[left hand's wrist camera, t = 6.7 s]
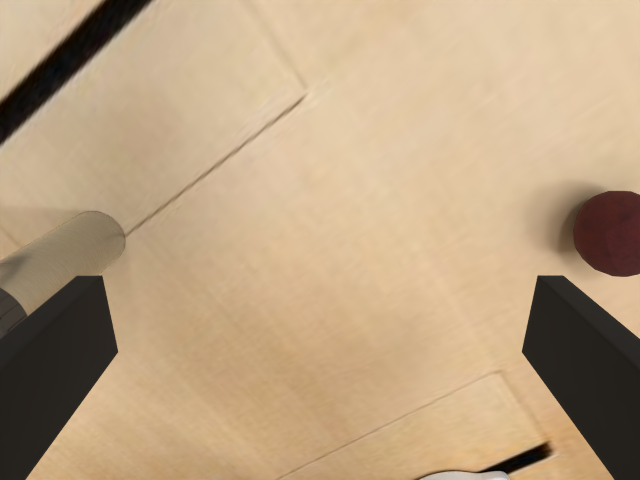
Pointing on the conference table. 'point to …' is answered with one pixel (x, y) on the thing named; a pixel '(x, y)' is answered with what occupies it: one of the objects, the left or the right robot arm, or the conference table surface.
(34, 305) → the jar
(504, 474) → the right robot arm
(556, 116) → the conference table surface
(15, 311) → the lid
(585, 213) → the dark red round ball
